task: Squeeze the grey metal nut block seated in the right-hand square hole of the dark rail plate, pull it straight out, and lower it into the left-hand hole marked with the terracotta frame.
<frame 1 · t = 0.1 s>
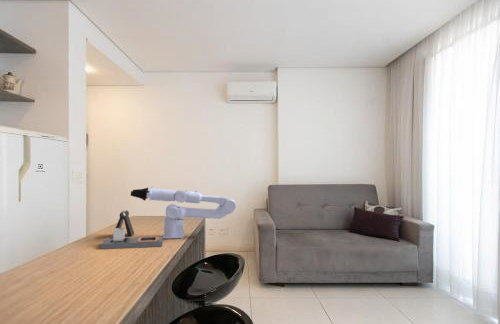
hand: (131, 192, 137), 22 cm above the worktop, tool horizontal, fingers open, 7 cm apart
phone stand: (123, 235, 141), on the worktop
nut block: (118, 245, 122), resting in rail plate
rail plate: (133, 244, 124), on the worktop
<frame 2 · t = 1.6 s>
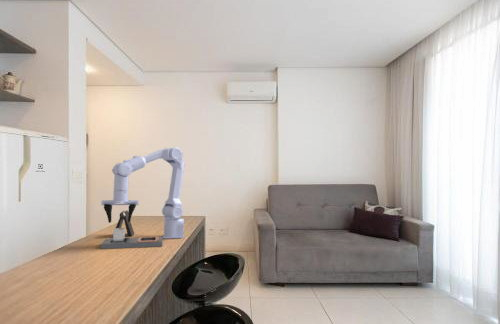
hand: (119, 222, 123), 10 cm above the worktop, tool pointing down, fingers open, 7 cm apart
nothing on the worktop moved.
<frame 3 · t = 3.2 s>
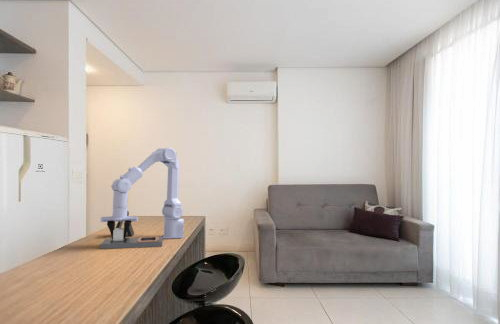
hand: (118, 238, 123), 3 cm above the worktop, tool pointing down, fingers closed on nut block, 4 cm apart
nut block: (118, 245, 122), resting in rail plate, touching gripper
everything else where it was.
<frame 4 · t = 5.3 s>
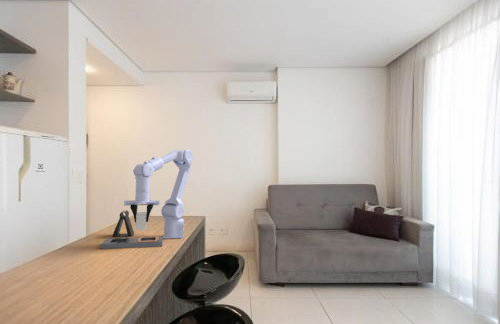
hand: (141, 221, 125), 10 cm above the worktop, tool pointing down, fingers closed on nut block, 4 cm apart
nut block: (141, 228, 125), point 7 cm above the worktop, touching gripper
everything else where it was.
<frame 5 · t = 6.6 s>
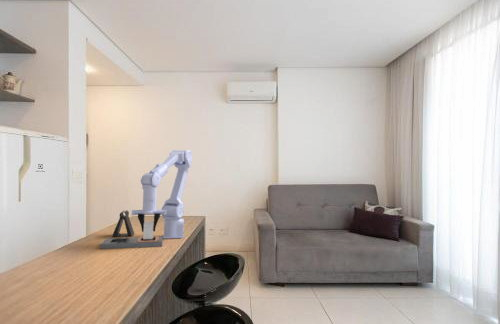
hand: (148, 231, 126), 6 cm above the worktop, tool pointing down, fingers closed on nut block, 4 cm apart
nut block: (148, 238, 126), point 3 cm above the worktop, touching gripper
everything else where it was.
when the fingers open (4 cm above the worktop, at t = 7.5 s): nut block stays where it is, resting in rail plate.
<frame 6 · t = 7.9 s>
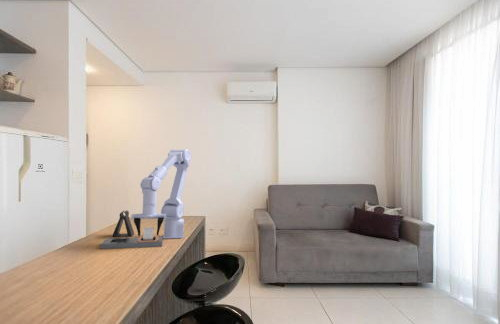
hand: (148, 235, 126), 4 cm above the worktop, tool pointing down, fingers open, 7 cm apart
nut block: (148, 244, 126), resting in rail plate
everything else where it was.
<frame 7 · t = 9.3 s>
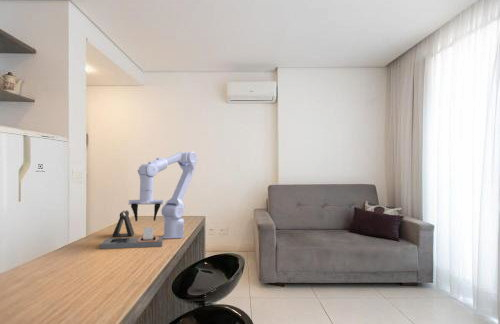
hand: (145, 220, 128), 10 cm above the worktop, tool pointing down, fingers open, 7 cm apart
nothing on the worktop moved.
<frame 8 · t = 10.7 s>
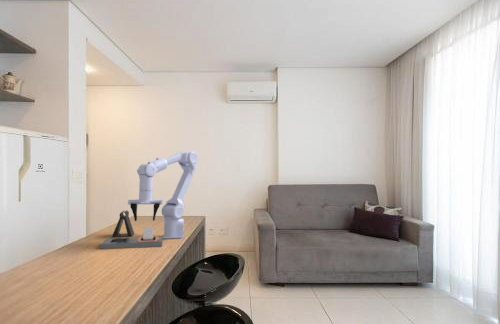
hand: (144, 220, 128), 10 cm above the worktop, tool pointing down, fingers open, 7 cm apart
nothing on the worktop moved.
at the end: nut block 0.0 cm from the target spot on the rail plate, point 0.0 cm above the rail plate's base; nut block tilted 0°; the gripper is holding nothing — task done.
